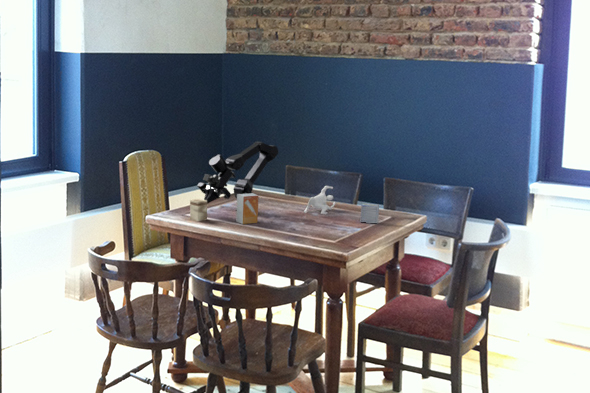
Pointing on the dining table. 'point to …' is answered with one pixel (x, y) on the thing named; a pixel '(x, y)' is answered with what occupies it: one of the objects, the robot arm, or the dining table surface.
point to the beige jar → (198, 209)
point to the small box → (247, 208)
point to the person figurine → (321, 201)
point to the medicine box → (369, 213)
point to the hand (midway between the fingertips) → (203, 204)
